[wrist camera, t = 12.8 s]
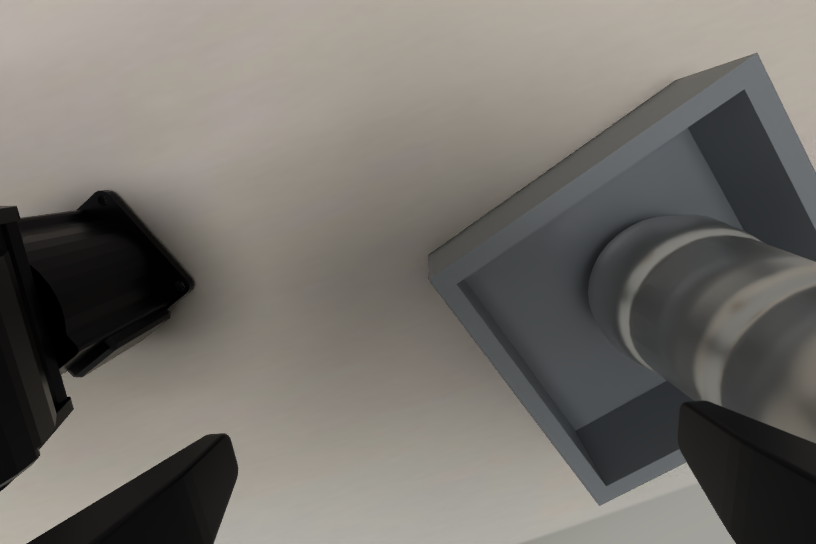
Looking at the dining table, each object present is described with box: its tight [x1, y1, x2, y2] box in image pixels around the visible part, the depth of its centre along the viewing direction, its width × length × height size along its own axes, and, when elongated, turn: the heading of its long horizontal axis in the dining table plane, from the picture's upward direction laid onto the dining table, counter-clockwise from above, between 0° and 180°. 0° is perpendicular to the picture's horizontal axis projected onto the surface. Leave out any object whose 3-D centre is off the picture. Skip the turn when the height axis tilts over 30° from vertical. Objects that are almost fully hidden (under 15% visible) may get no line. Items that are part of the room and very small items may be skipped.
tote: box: [429, 53, 816, 506], centre depth 18 cm, size 14×14×4 cm
